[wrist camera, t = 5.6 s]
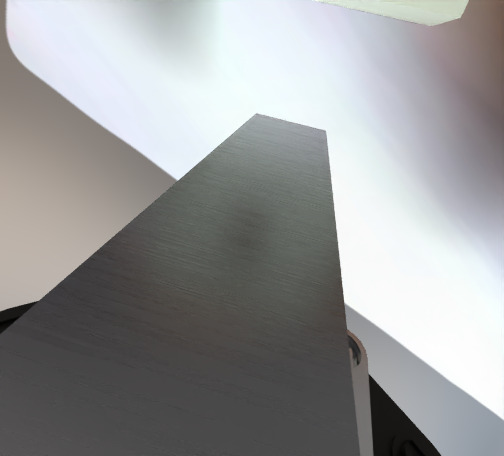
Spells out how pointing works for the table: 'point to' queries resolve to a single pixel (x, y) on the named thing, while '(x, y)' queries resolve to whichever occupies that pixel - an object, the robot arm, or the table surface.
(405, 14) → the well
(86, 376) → the brushed metal pillar
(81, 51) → the table surface
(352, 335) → the robot arm
